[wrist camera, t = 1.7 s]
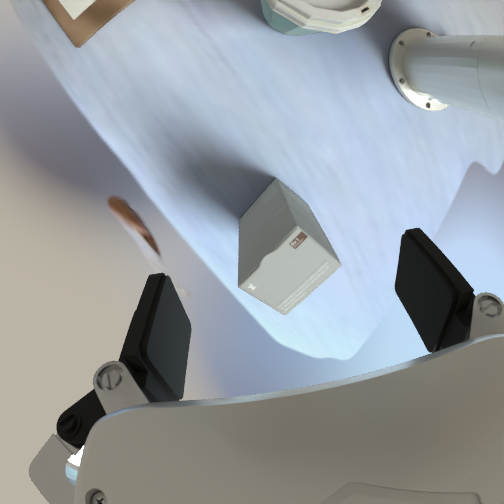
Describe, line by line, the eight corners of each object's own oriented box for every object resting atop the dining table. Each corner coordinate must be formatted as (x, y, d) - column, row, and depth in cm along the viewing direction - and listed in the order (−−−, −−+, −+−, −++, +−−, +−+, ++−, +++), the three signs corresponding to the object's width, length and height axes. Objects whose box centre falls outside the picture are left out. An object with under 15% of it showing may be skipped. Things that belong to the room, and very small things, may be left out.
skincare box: (271, 243, 43) (287, 322, 29) (233, 215, 40) (232, 291, 27) (311, 202, 39) (349, 271, 26) (274, 170, 37) (297, 227, 23)
